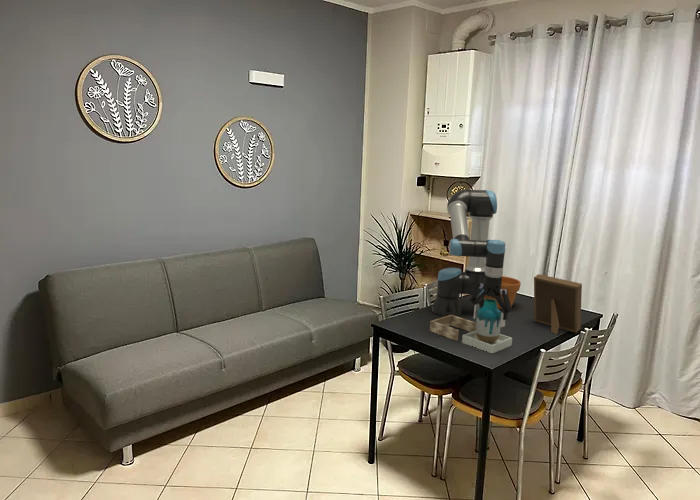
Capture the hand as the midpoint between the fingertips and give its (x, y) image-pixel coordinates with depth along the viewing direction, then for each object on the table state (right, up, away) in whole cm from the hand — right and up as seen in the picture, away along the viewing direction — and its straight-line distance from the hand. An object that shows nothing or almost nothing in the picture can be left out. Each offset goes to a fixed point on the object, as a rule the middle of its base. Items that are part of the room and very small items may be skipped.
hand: (488, 322), depth 233 cm
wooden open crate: (-13, -7, +15) cm, 21 cm away
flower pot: (+21, +1, +60) cm, 64 cm away
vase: (0, -9, +2) cm, 9 cm away
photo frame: (+38, -7, +26) cm, 47 cm away
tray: (0, -10, +2) cm, 10 cm away
